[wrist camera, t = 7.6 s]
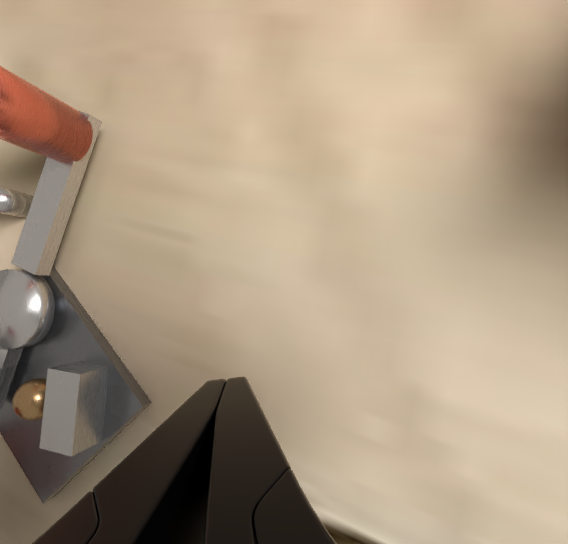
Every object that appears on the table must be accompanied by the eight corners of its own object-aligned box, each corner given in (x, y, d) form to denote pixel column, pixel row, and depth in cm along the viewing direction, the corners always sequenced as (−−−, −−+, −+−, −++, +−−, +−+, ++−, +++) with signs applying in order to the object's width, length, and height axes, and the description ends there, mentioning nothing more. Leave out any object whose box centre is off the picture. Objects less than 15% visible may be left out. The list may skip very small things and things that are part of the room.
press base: (53, 496, 24) (4, 526, 21) (-65, 301, 28) (-122, 302, 25) (171, 383, 22) (136, 397, 19) (27, 189, 26) (-21, 176, 23)
